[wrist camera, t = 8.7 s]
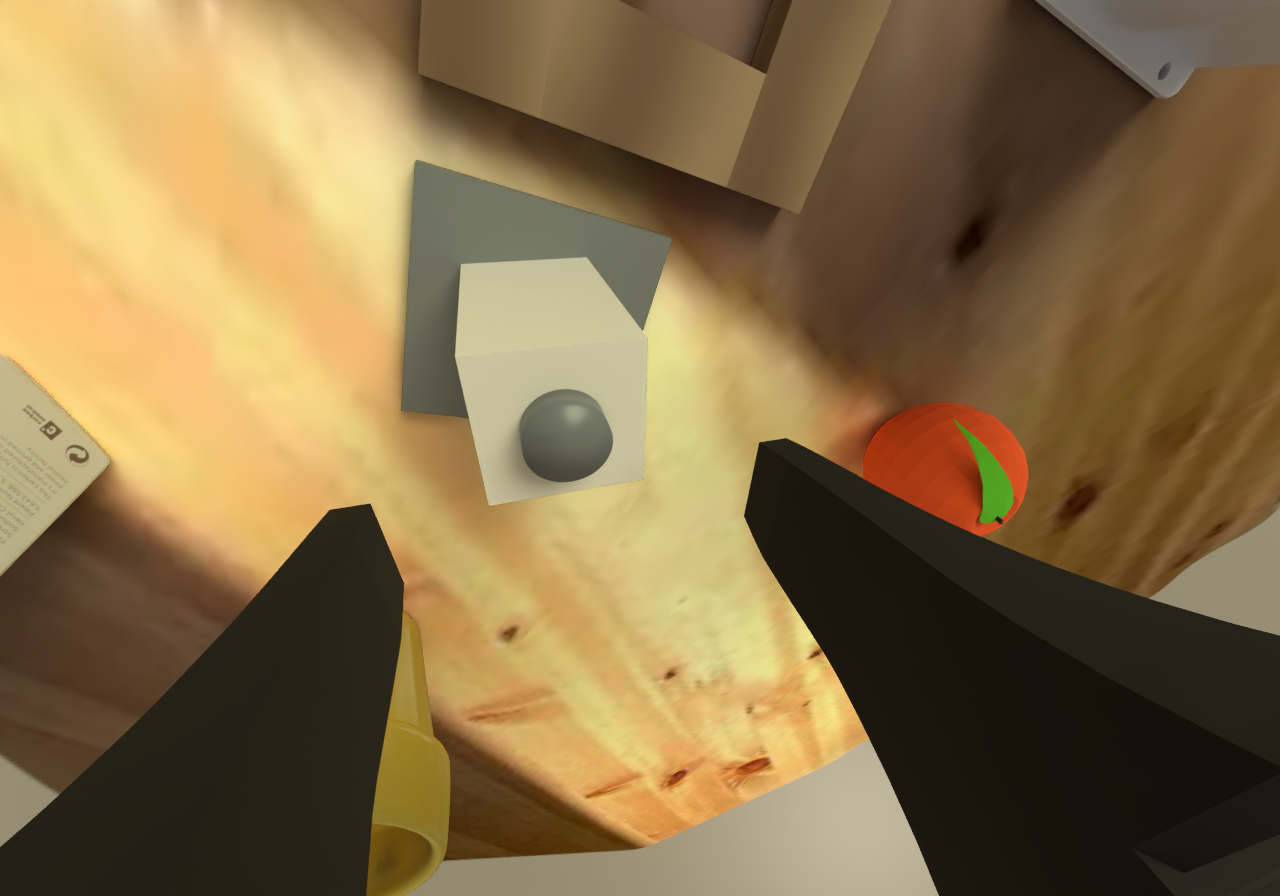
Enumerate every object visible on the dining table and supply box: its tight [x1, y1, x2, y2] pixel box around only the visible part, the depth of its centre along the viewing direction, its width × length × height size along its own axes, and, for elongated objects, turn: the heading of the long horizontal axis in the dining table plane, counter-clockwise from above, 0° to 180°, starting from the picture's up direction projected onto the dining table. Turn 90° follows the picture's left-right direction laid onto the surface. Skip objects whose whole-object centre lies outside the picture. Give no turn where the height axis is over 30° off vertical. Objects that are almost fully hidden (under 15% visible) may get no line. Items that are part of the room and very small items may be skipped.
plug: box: [455, 257, 648, 506], centre depth 13 cm, size 4×4×8 cm
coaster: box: [401, 160, 672, 418], centre depth 17 cm, size 8×8×1 cm
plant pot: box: [366, 612, 450, 896], centre depth 20 cm, size 10×10×10 cm
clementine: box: [863, 402, 1028, 537], centre depth 23 cm, size 8×7×7 cm
